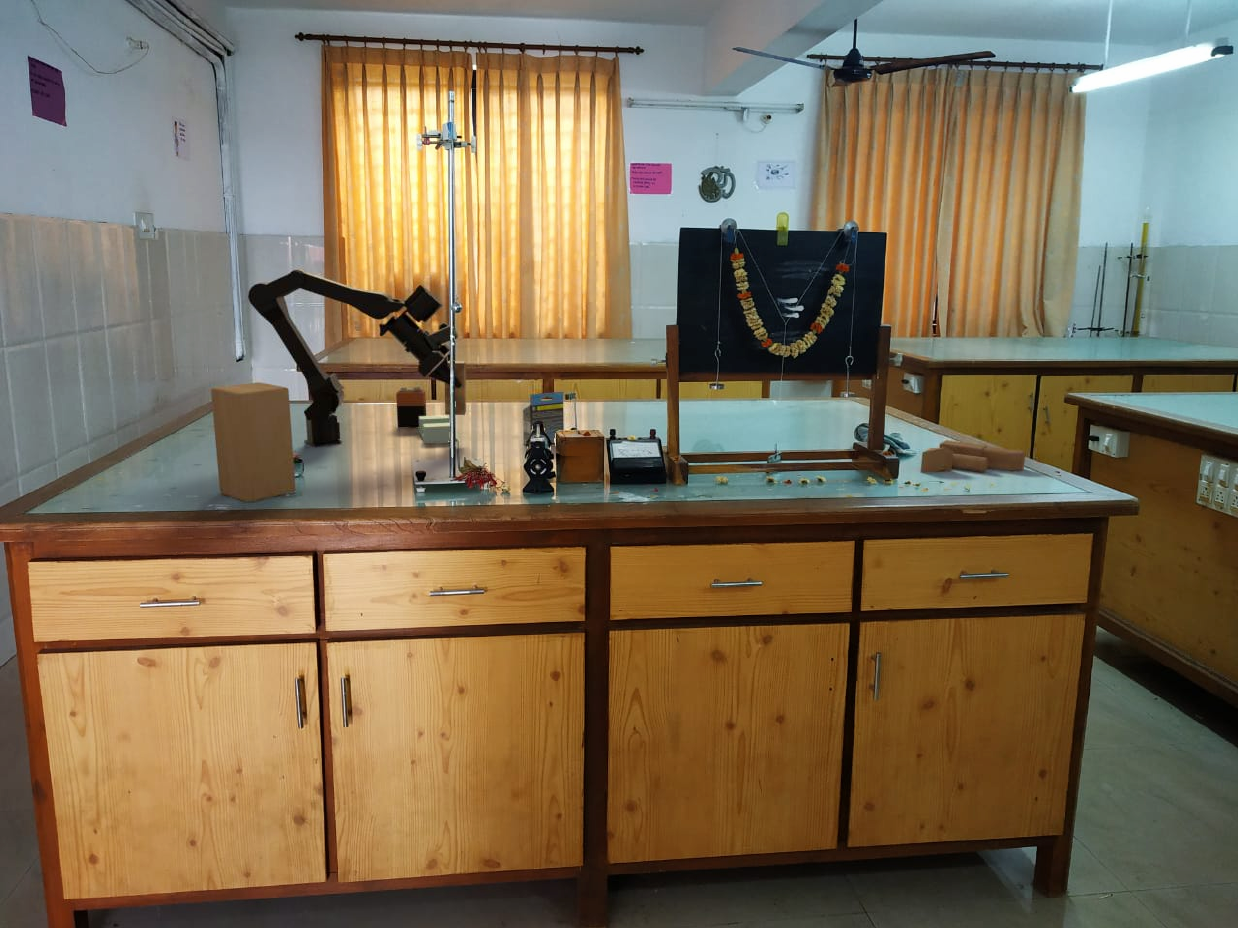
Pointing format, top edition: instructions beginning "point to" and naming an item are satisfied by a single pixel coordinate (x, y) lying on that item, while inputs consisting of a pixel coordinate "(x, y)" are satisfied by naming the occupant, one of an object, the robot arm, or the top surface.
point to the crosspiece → (434, 428)
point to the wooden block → (253, 440)
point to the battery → (410, 406)
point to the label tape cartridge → (544, 414)
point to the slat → (457, 390)
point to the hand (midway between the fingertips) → (461, 385)
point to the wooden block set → (971, 458)
